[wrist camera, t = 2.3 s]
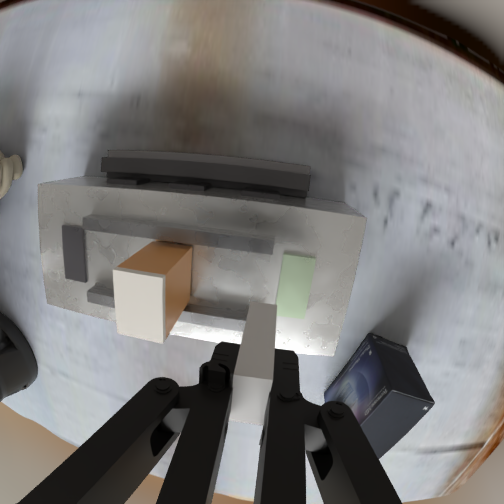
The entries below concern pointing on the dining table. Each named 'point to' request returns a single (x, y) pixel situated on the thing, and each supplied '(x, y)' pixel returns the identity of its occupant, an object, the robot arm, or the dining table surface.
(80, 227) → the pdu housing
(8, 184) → the decorative object
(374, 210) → the dining table surface
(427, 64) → the dining table surface
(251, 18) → the dining table surface
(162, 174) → the grooved gray rail
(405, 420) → the small box
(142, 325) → the lever
